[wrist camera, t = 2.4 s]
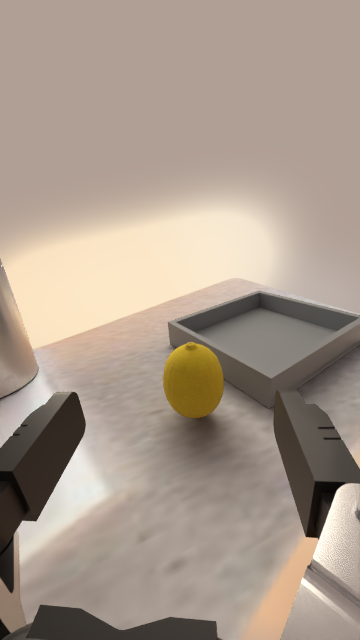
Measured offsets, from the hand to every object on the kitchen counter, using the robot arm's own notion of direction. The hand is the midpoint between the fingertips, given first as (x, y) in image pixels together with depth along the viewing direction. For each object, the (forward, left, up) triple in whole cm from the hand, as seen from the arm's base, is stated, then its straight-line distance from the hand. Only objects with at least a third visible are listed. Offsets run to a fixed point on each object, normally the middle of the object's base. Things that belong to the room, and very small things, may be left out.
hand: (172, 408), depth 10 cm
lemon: (-9, +7, -11) cm, 16 cm away
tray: (-14, +23, -11) cm, 29 cm away
